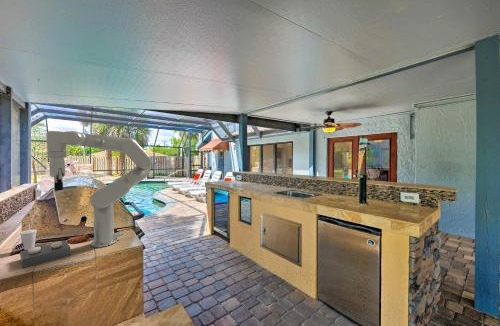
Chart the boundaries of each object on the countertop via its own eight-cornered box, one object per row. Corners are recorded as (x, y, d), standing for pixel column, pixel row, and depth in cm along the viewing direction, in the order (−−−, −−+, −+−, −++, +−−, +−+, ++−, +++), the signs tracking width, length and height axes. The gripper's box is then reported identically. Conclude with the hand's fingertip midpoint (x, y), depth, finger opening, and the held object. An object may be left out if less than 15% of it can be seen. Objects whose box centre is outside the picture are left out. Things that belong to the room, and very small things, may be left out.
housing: (65, 247, 120) (65, 240, 119) (70, 254, 112) (70, 247, 111) (20, 259, 107) (20, 251, 106) (22, 268, 99) (22, 259, 99)
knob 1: (40, 254, 109) (40, 245, 109) (41, 257, 106) (41, 248, 106) (27, 258, 106) (27, 248, 106) (28, 261, 103) (28, 251, 103)
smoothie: (27, 252, 114) (25, 226, 113) (17, 251, 115) (16, 225, 114) (41, 247, 120) (39, 222, 119) (31, 246, 121) (30, 221, 120)
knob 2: (61, 249, 115) (61, 240, 115) (63, 252, 112) (62, 243, 112) (50, 252, 112) (49, 243, 112) (51, 255, 109) (51, 246, 109)
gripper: (44, 154, 116) (46, 189, 118) (50, 155, 107) (52, 192, 108) (63, 154, 122) (64, 187, 123) (70, 155, 113) (71, 190, 114)
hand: (58, 189), depth 116 cm, fingers closed
